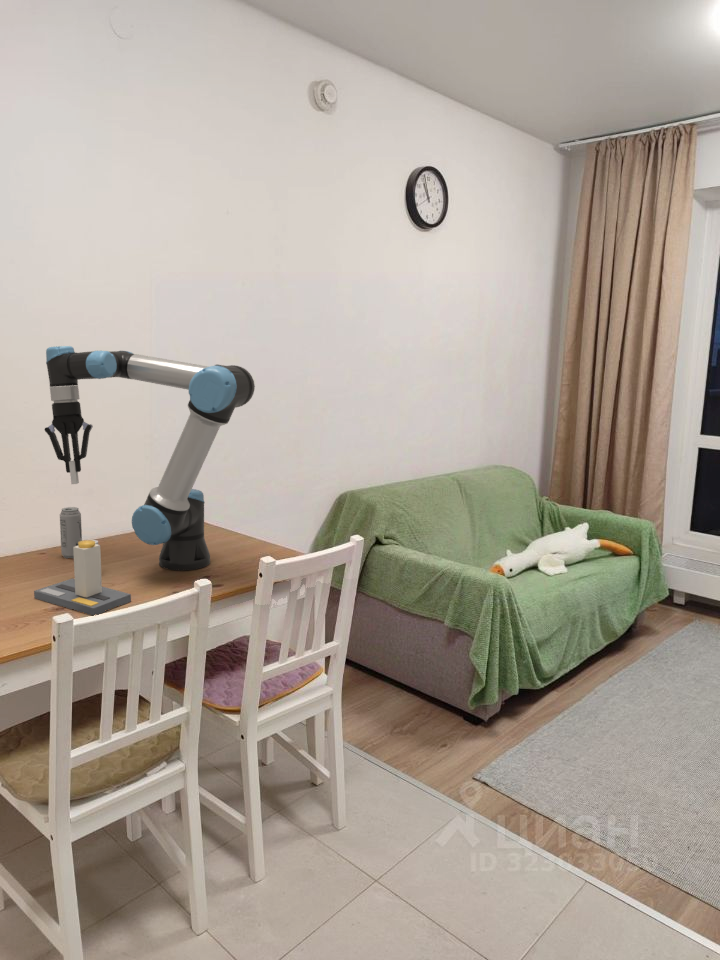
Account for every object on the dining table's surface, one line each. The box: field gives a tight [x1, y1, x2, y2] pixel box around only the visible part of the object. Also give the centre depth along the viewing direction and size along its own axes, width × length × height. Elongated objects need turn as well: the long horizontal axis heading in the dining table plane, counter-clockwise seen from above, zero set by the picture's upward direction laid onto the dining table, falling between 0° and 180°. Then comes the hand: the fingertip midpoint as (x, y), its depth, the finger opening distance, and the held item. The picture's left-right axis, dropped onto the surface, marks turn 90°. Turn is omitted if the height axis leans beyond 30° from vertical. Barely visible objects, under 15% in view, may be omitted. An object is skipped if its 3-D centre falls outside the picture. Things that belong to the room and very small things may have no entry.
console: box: [33, 578, 132, 616], centre depth 187 cm, size 22×12×2 cm, turn 61°
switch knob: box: [73, 539, 103, 598], centre depth 184 cm, size 4×5×14 cm
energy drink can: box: [59, 506, 83, 559], centre depth 221 cm, size 6×6×15 cm
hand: (75, 483), depth 209 cm, fingers closed
